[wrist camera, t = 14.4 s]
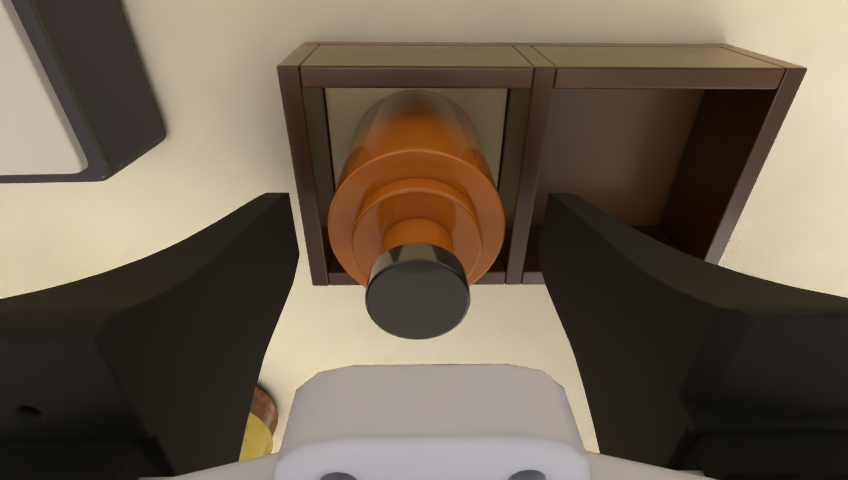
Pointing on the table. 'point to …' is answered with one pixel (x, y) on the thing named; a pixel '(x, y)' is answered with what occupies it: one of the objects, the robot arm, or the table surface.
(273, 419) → the sauce bottle
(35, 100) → the calculator
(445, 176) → the amber bottle
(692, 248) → the holder
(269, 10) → the table surface
